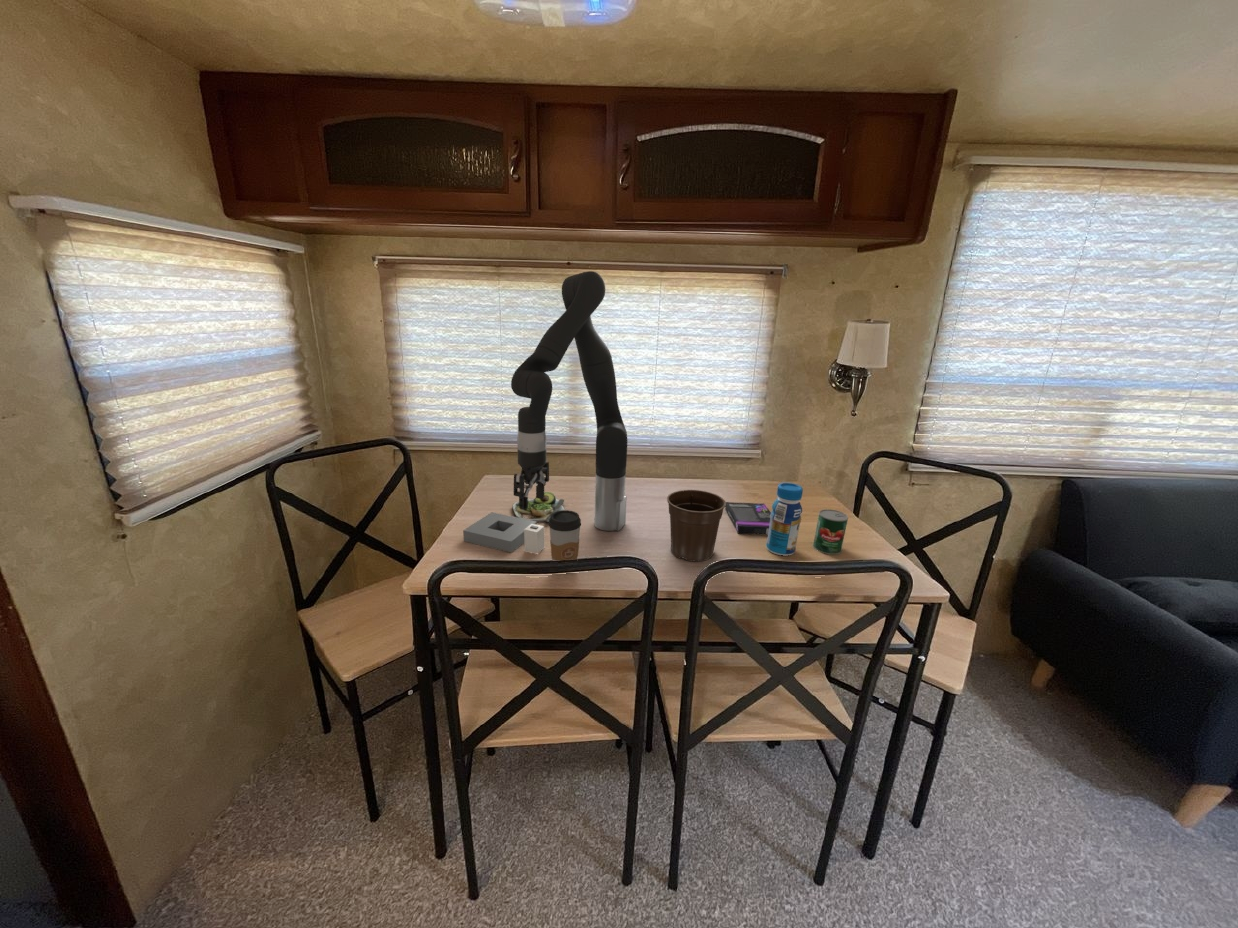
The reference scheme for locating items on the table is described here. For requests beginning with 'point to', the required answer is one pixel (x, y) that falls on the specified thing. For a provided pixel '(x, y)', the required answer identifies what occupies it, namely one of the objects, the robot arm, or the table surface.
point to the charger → (534, 538)
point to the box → (749, 517)
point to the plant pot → (694, 523)
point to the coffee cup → (564, 535)
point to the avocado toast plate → (540, 507)
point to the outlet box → (498, 532)
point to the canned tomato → (830, 531)
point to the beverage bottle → (785, 520)
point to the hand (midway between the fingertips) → (532, 503)
